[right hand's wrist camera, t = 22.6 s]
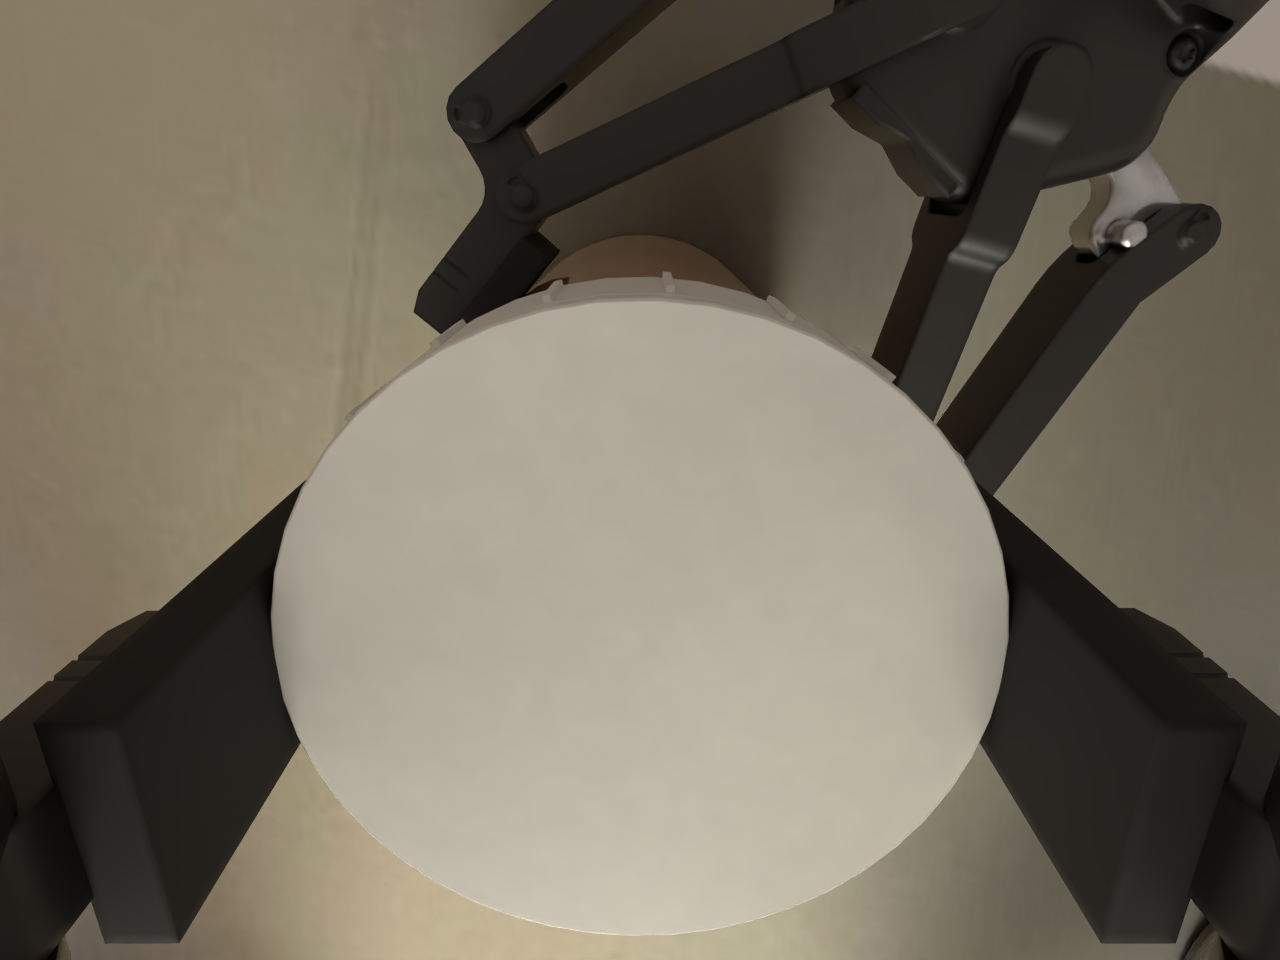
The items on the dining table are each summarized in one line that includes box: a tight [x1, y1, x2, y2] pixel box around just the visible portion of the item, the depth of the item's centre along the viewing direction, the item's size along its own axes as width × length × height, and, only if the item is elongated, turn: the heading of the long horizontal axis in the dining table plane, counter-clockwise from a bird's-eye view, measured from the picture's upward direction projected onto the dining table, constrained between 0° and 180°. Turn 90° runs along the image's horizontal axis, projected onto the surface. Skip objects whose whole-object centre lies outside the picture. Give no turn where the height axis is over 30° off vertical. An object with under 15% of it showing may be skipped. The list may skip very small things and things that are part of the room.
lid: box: [271, 272, 1009, 936], centre depth 11 cm, size 10×10×2 cm
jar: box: [524, 235, 756, 297], centre depth 19 cm, size 9×9×17 cm
